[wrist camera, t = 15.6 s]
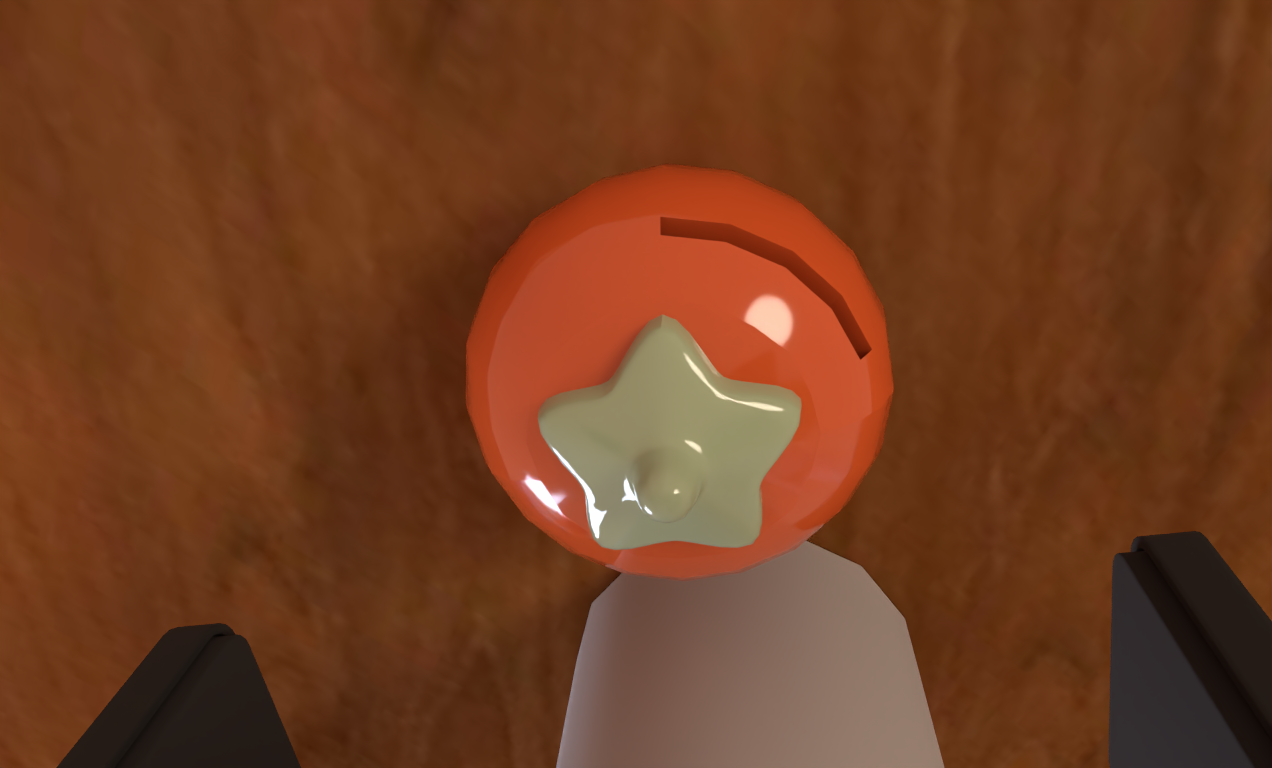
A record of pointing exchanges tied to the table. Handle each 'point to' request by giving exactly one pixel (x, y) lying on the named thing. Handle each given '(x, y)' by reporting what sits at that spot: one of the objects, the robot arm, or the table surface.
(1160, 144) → the table surface
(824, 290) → the tomato
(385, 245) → the table surface
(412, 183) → the table surface
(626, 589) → the cup
